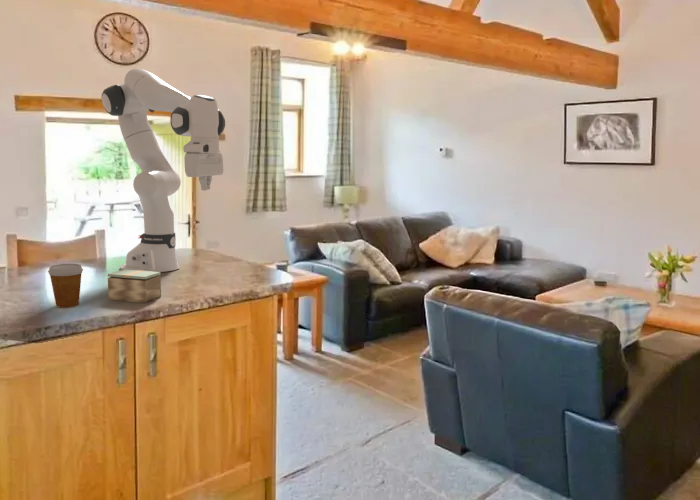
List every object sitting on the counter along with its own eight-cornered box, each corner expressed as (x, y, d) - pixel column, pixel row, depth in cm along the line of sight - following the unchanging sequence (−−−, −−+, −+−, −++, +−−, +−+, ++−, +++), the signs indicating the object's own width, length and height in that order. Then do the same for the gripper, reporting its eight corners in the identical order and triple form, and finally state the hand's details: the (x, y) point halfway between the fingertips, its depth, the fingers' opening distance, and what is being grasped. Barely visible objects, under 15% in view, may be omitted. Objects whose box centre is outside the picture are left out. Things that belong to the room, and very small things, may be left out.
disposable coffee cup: (73, 299, 193) (71, 261, 191) (91, 304, 188) (89, 265, 186) (43, 305, 185) (41, 266, 183) (61, 311, 180) (59, 270, 178)
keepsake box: (108, 299, 194) (107, 277, 193) (125, 293, 202) (124, 272, 201) (145, 303, 191) (145, 280, 190) (161, 296, 200) (160, 275, 198)
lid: (107, 276, 193) (107, 273, 192) (124, 271, 201) (124, 269, 201) (144, 279, 190) (144, 276, 189) (160, 274, 198) (160, 272, 198)
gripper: (210, 146, 209) (211, 187, 211) (180, 146, 189) (181, 191, 191) (227, 147, 207) (228, 188, 210) (199, 147, 188) (200, 192, 190)
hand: (205, 190), depth 200 cm, fingers closed
